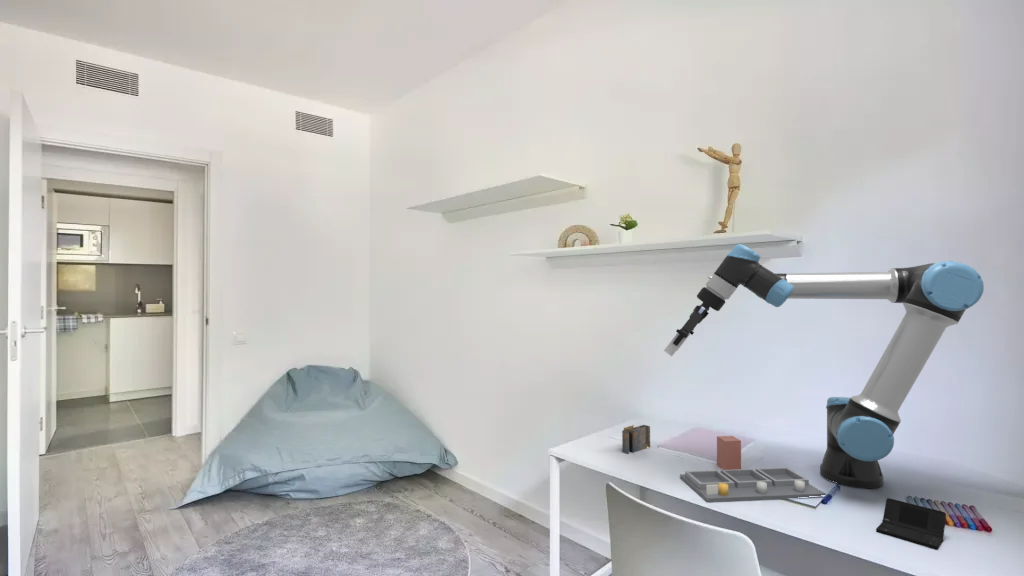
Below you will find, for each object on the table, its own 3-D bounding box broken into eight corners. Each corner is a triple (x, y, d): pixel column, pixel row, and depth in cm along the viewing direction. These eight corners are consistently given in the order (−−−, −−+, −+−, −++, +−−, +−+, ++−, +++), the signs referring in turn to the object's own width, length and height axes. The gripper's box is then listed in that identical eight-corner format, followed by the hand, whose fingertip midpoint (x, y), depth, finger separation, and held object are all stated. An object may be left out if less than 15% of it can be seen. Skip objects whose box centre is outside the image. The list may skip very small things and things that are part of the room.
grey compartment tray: (785, 473, 152) (785, 462, 152) (825, 497, 135) (825, 484, 135) (680, 477, 149) (680, 466, 149) (707, 502, 132) (707, 489, 132)
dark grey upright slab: (629, 455, 170) (629, 426, 170) (622, 453, 173) (622, 424, 173) (651, 448, 177) (651, 420, 177) (644, 446, 180) (643, 418, 180)
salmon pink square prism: (732, 464, 160) (732, 435, 160) (741, 470, 155) (740, 440, 155) (716, 465, 160) (716, 436, 160) (725, 471, 155) (724, 441, 155)
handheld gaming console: (875, 528, 114) (884, 486, 118) (875, 538, 119) (883, 496, 123) (942, 553, 107) (950, 507, 111) (939, 562, 112) (946, 517, 116)
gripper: (706, 285, 162) (665, 339, 167) (701, 285, 140) (654, 347, 145) (727, 299, 160) (685, 353, 165) (725, 302, 137) (676, 364, 142)
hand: (670, 350), depth 155 cm, fingers open, 13 cm apart
